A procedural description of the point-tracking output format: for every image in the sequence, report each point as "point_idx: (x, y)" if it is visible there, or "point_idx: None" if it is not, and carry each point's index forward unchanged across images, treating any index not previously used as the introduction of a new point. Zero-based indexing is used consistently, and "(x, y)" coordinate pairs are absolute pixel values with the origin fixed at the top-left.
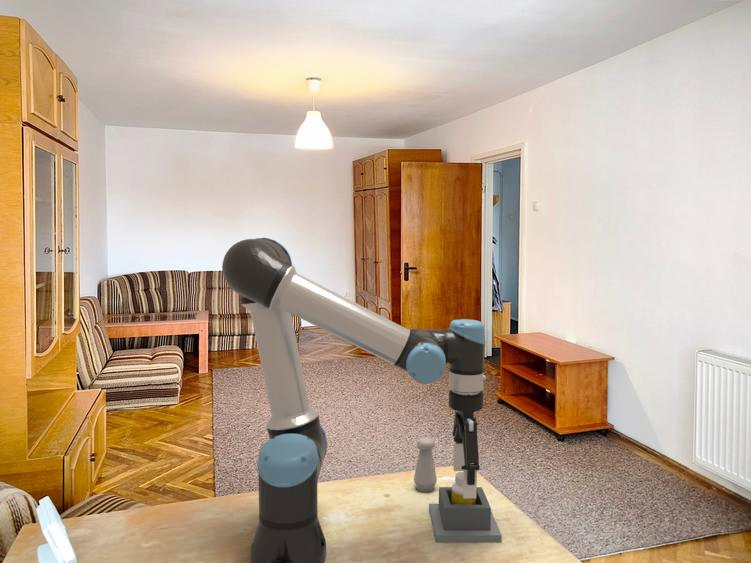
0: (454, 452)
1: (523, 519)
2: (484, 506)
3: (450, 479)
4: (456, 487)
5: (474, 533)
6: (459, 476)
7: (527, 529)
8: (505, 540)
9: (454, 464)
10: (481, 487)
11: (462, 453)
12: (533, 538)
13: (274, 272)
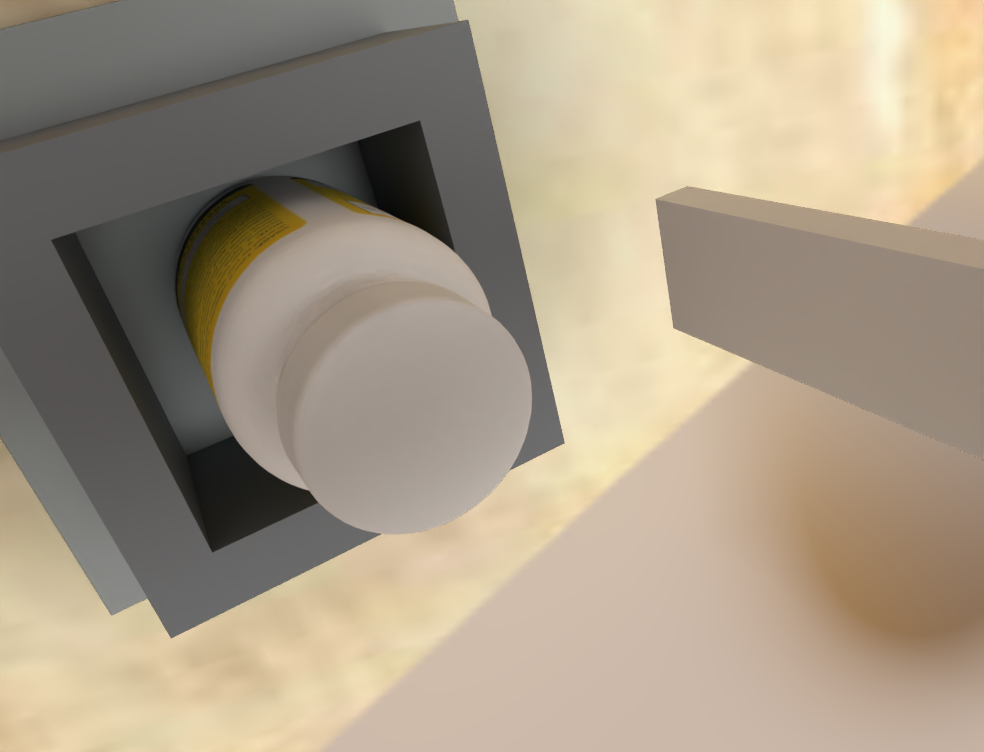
0: (854, 246)
1: (463, 608)
2: (183, 577)
3: (868, 63)
4: (273, 306)
5: (36, 430)
6: (373, 369)
7: (351, 662)
8: None
9: (713, 217)
10: (557, 442)
11: (845, 358)
12: (253, 722)
13: None
